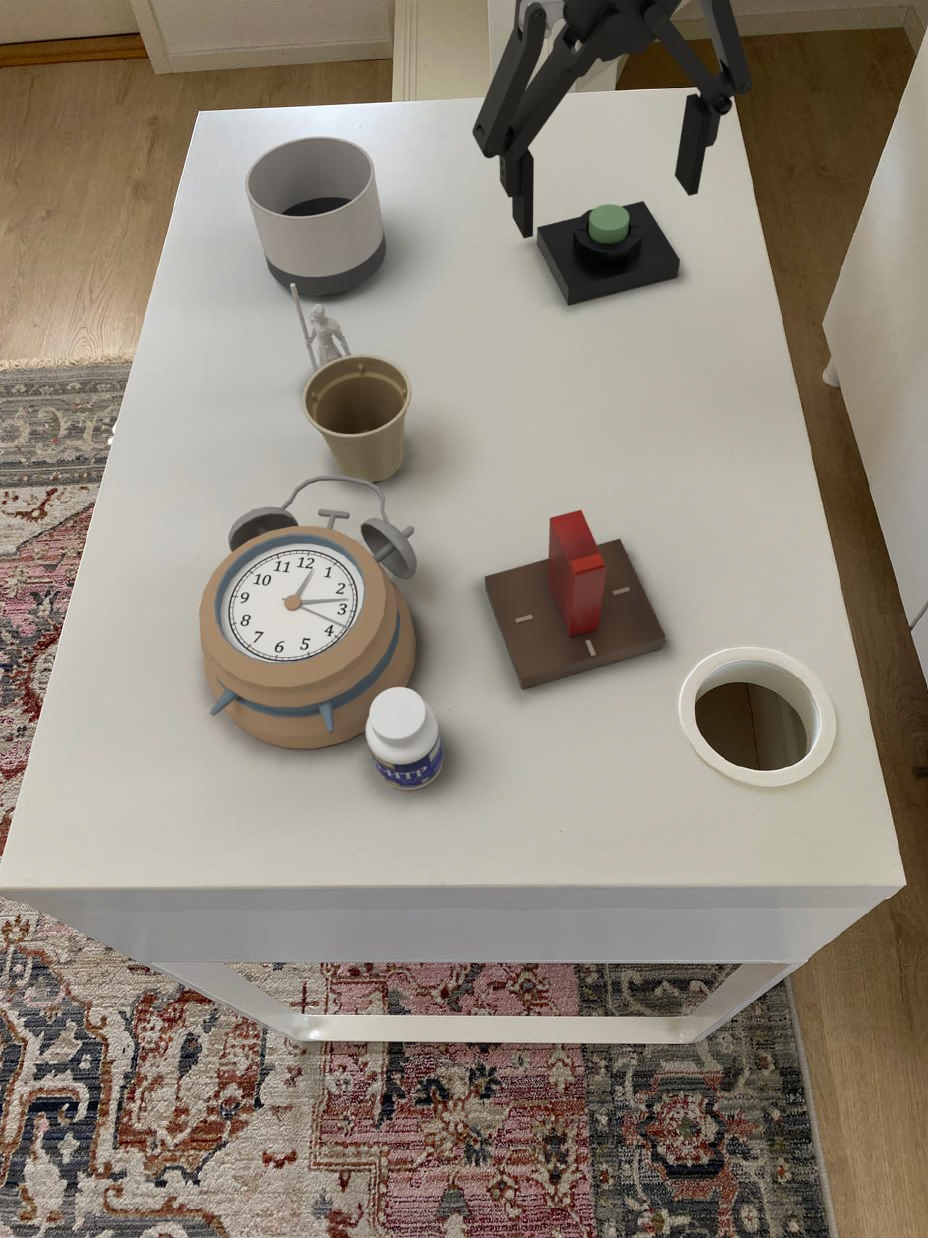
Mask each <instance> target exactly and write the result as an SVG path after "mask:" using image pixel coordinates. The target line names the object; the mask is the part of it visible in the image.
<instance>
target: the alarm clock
mask: <svg viewBox="0 0 928 1238" xmlns="http://www.w3.org/2000/svg"><path fill="white" fill-rule="evenodd" d="M319 482H345V483H346V482H347V483H352V484H357V485H362V486H366V487H368V488H370V489H371V490H372V491H374V492H376V494H377V496H378V498H379V500H380V515H381V516H382V518H377V517H369V518H367V519H366V520H365V521H364V522H363V523H362V524H360V525H359V526H360V534H361V536H362V538H363V541H364V543H365V544H366V546H367V547H368V549H369V550H368V549H366V548H365V547H364V546H363V545H362V544H361V543H360V542H359V541H358V540H356V539H353V538H352V537H350V536H349V535H346V534H344V533H342V532H340V531H338V530H335V529H334V530H333V528H334V524H335V521H336V519H341V520H342V519H344V520H349V518H350V517H351V514H350V512H348V511H345V510H333V509H325V508H319V509H318V510H317V515H318V516H320V517H325V518H329V519H328V522H327V526H326V527H321V526H316V525H315V526H314V525H299V522H298V520H297V519H296V518H295V516H293V514H292V513H291V512H290V511H288V510H287V508H288V507H289V506H291V505H292V504H293V502H294V501H295V498H296V497H297V495H298V493H299V492H301V491H302V490H304V489H305V488H306V487H307V486H309V485H312V484H314V483H319ZM385 505H386V498H385V496H384V494H383V492H382V491H381V489H380V487H379V486H377V485H376V484H375V483H373V482H369V481H365V480H362V479H358V478H352V477H347V476H345V475H318V476H315V477H312V478H308V479H306V480H304V481H303V482H302V483H300V484H299V485H298V486H296V487H295V488H294V490H293V492H292V493H291V495H290V497H289V499H288V500H287V501H285V502H284V503H283V504H282V505H281V506H280V507H279V506H263V507H258V508H252V509H251V510H249V511H247V512H246V513H245V514H243V515H241V516H240V517H238V519H237V520H236V521H234V523H233V524H232V525H231V528H230V530H229V532H228V536H227V541H228V545H229V546H228V547H229V550H230V552H231V553H229V554H228V555H226V557H225V558H224V559H223V561H222V562H221V563H220V564H219V565H218V566H217V567H216V569H215V570H214V571H213V572H212V574H211V576H210V578H209V580H208V582H207V584H206V585H205V588H203V592H202V595H201V600H200V605H199V610H198V619H199V634H200V635H199V636H200V646H201V647H200V648H201V651H202V653H203V661H204V671H205V677H206V679H207V682H208V684H209V686H210V689H211V691H212V693H213V696H214V698H215V699H216V703H215V704H214V706H213V707H212V709H211V710H210V712H209V714H210V715H211V716H213V717H215V716H216V715H217V714H218V713H220V712H221V711H222V710H223V711H224V712H225V713H226V715H228V717H229V718H230V719H231V720H232V721H233V723H234V724H235V725H236V726H237V727H238V728H239V729H240V730H243V731H244V732H245V733H247V734H249V735H250V736H252V737H254V738H255V739H257V740H258V741H260V742H263V743H268V744H271V745H274V746H277V747H281V748H285V749H304V750H305V749H308V750H309V749H311V750H314V749H319V748H324V747H328V746H333V745H337V744H341V743H344V742H346V741H348V740H350V739H352V738H355V737H356V736H359V735H360V734H362V733H365V732H366V723H367V720H368V717H369V712H370V707H371V705H372V703H373V701H374V699H375V698H376V697H377V696H378V695H379V694H380V693H382V692H383V691H385V690H387V689H390V688H394V687H405V688H408V684H409V682H410V680H411V676H412V674H413V671H414V669H415V664H416V653H417V652H416V651H417V639H416V634H415V628H414V625H413V620H412V615H411V611H410V607H409V605H408V603H407V601H406V599H405V598H404V596H403V594H402V593H401V591H400V589H399V587H398V585H397V584H395V582H394V581H393V580H391V578H390V577H389V576H388V574H387V571H386V570H385V568H386V569H387V570H388V571H389V572H390V573H391V574H393V575H394V576H396V577H397V578H399V579H402V580H405V581H407V580H409V579H411V578H412V577H414V575H415V574H416V571H417V569H418V568H417V567H418V560H417V556H416V553H415V550H414V548H413V547H412V545H411V543H410V541H409V540H408V539H409V538H410V537H411V536H412V535H414V533H415V527H413V526H411V525H410V526H406V527H405V528H404V529H403V530H402V531H401V530H399V529H398V528H397V526H394V525H393V524H392V523H391V522H390V521H389V519H388V517H387V513H386V512H385V511H386V510H385ZM370 552H371V553H370Z"/></svg>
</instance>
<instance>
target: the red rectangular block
mask: <svg viewBox="0 0 928 1238" xmlns="http://www.w3.org/2000/svg"><path fill="white" fill-rule="evenodd" d="M548 530H549V532H548V539H549V540H548V559H549V560H548V584H549V587H550V589H551V592H552V594H553V597H554V599H555V602H556V605H557V607H558V610H559V612H560V615H561V617H562V620H563V622H564V625H565V627H566V630H567V633H568V635H569V637H572V636H576V635H579V634H583V633H586V632H590V631H593V630H597V629H599V623H600V615H601V607H602V599H603V592H604V584H605V576H606V568H607V567H606V565H605V563H604V561H603V558H602V556H601V554H600V551H599V549H598V547H597V545H598V544H597V543H596V541H595V538H594V536H593V533H592V531H591V528H590V525H589V524H588V521H587V520H586V517H585V515H584V512H583V510H582V509H578V510H574V511H571V512H567V513H563V514H559V515H556V516H552V517H550V518H549V528H548Z"/></svg>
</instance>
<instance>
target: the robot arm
mask: <svg viewBox="0 0 928 1238" xmlns="http://www.w3.org/2000/svg"><path fill="white" fill-rule="evenodd" d="M682 1H683V0H515V6H514V7H515V8H514V17H513V28H512V31H511V33H510V35H509V38H508V40H507V44H506V46H505V48H504V50H503V53H502V55H501V58H500V61H499V63H498V65H497V67H496V71H495V73H494V75H493V78H492V80H491V83H490V85H489V88H488V90H487V93H486V95H485V97H484V100H483V102H482V105H481V107H480V110H479V112H478V115H477V118H476V120H475V122H474V125H473V128H472V136H473V138H474V140H475V142H476V143H477V145H478V148H479V149H480V151H481V153H482V155H483V156H484V157H485V158H486V159H492V158H495V157H496V156H499V157H498V158H499V161H498V163H499V182H500V184H501V186H502V188H503V190H504V192H505V194H506V196H507V197H508V199H510V198H511V206H512V207H511V212H512V213H511V214H512V219H513V221H514V223H515V225H516V227H517V228H518V231H519V232H520V234H521V236H522V238H523V239H528V238H532V237H534V189H535V186H534V184H535V183H534V182H535V180H534V179H535V177H534V175H535V174H534V173H535V158H534V156H533V154H532V153H531V151H530V149H529V147H530V146H531V144H532V143H533V141H534V140H535V139H536V137H537V136H538V134H539V133H540V132H541V130H542V129H543V127H544V126H545V125H546V124H547V122H548V120H550V117H551V116H552V115H553V113H554V112H555V111H556V110H557V108H558V106H559V105H560V103H561V102H562V101H563V99H564V98H565V97H566V95H567V94H568V93H569V91H570V89H571V88H572V87H573V85H574V84H575V83H576V81H577V80H578V79H579V78H584V77H585V76H586V75H587V73H588V72H589V71H590V70H591V68H592V67H593V66H594V64H595V63H596V61H597V60H600V62H601V63H607V62H610V61H614V60H615V59H617V58H620V57H621V56H624V55H640V54H642V53H646V52H647V48H648V47H649V46H651V45H652V44H654V42H655V41H656V40H658V41H659V42H660V44H661V45H662V46H663V48H665V50H666V51H667V53H668V54H669V55H670V56H671V58H672V59H673V60H674V61H675V63H676V64H677V65H678V66H679V67H680V68H681V70H682V71H683V73H685V75H686V76H687V78H688V79H689V80H690V82H691V83H692V84H693V85H694V86H695V88H696V89H697V90H698V92H699V95H698V93H697V92H696V93H692V94H688V95H686V100H685V106H684V112H683V119H682V125H681V132H680V139H679V145H678V151H677V158H676V164H675V170H674V171H675V172H674V177H675V178H676V180H677V181H678V183H679V184H680V186H681V187H682V189H683V190H684V192H685V193H686V194H687V196H688V197H691V196H694V195H698V194H699V189H700V183H701V177H702V173H703V167H704V162H705V156H706V150H707V148H710V147H712V146H714V145H715V143H716V141H717V139H718V133H719V127H720V124H721V123H720V122H721V117H723V116H726V115H727V114H729V112H731V110H732V108H733V101H732V99H731V98H733V97H734V96H736V95H738V96H744V95H747V94H748V93H749V92H750V91H751V89H752V88H753V85H754V84H753V83H754V82H753V78H752V75H751V72H750V71H751V70H750V68H749V64H748V61H747V60H748V59H747V57H746V53H745V50H744V46H743V43H742V40H741V36H740V32H739V29H738V26H737V22H736V19H735V15H734V11H733V8H732V5H731V1H730V0H699V4H700V6H701V11H702V14H703V16H704V19H705V22H706V26H707V30H708V32H709V36H710V39H711V42H712V46H713V48H714V52H715V55H716V58H717V62H718V64H719V67H720V70H721V71H720V72H719V73H717V74H715V75H712V73H711V72H710V71H709V69H708V68H707V67H706V65H705V64H704V63H703V62H702V60H701V58H699V56H698V55H697V54H696V52H695V51H694V49H693V48H692V47H691V46H690V44H689V43H688V41H686V39H685V38H684V36H683V35H682V34H681V32H680V30H678V29H677V27H676V25H675V24H674V23H673V22H672V20H670V19H671V18H672V16H673V15H674V13H675V12H676V10H677V9H678V8H679V6H680V4H681V3H682ZM560 19H563V20H564V22H565V24H564V25H563V26H562V28H561V29H560V31H559V32H558V34H557V35H556V36H555V38H554V40H553V45H552V50H551V52H550V53H549V55H548V56H547V57H546V59H545V60H544V62H543V64H541V66H540V68H539V69H538V71H537V72H536V74H535V75H534V77H533V78H532V75H533V73H534V71H535V69H536V66H537V64H538V61H539V59H540V56H541V53H542V51H543V47H544V41H545V40H546V39H547V40H548V39H550V38H551V36H552V34H553V32H552V30H553V27H554V25H555V24H556V22H558V21H559V20H560ZM578 41H579V43H580V44H581V46H580V47H579V49H578V50H577V49H576V44H577V43H578ZM531 78H532V80H531ZM530 80H531V81H530Z"/></svg>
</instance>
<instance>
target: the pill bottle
mask: <svg viewBox="0 0 928 1238" xmlns="http://www.w3.org/2000/svg"><path fill="white" fill-rule="evenodd" d="M365 737H366V741H367V744H368V748H369V750H370V753H371V756H372V758H373V761H374V764H375V767H376V769H377V772H378V773H379V775H380V777H381V778H382V780H383V781H385V783H387V784H388V785H390V786H392V787H393V788H396V789H399V790H404V791H413V790H418V789H421V788H424V787H426V786H427V785H429V784H430V783H432V782H433V781H434V780H435V779H436V778H437V776H438V775H439V774H440V772H441V770H442V767H443V764H444V747H443V742H442V736H441V730H440V725H439V721H438V718H437V714H436V713H435V711H434V710H433V708H432V707H431V706H430V705H429V704H428V703H426V702H425V701H424V699H423V698H422V696H421V695H420V694H419V693H418V692H416V691H414V689H411V688H409V687H406V688H405V687H394V688H390V689H387V690H385V691H383V692H382V693H380V694H379V695H378V696H377V697H376V698H375V699H374V701H373V703H372V705H371V707H370V712H369V717H368V720H367V723H366V731H365Z"/></svg>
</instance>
